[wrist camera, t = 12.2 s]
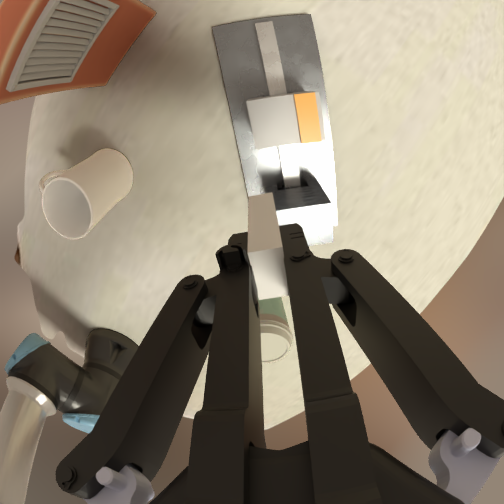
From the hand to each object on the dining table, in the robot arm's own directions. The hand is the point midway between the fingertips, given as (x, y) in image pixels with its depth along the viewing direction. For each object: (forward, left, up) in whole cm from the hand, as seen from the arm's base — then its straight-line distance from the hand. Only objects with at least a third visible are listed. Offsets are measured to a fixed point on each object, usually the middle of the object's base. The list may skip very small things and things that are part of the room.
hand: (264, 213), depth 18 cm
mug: (-24, +2, -21) cm, 31 cm away
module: (+3, +4, -19) cm, 20 cm away
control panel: (-16, +20, -21) cm, 33 cm away
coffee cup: (-4, -25, -21) cm, 32 cm away
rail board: (+3, +2, -20) cm, 21 cm away
